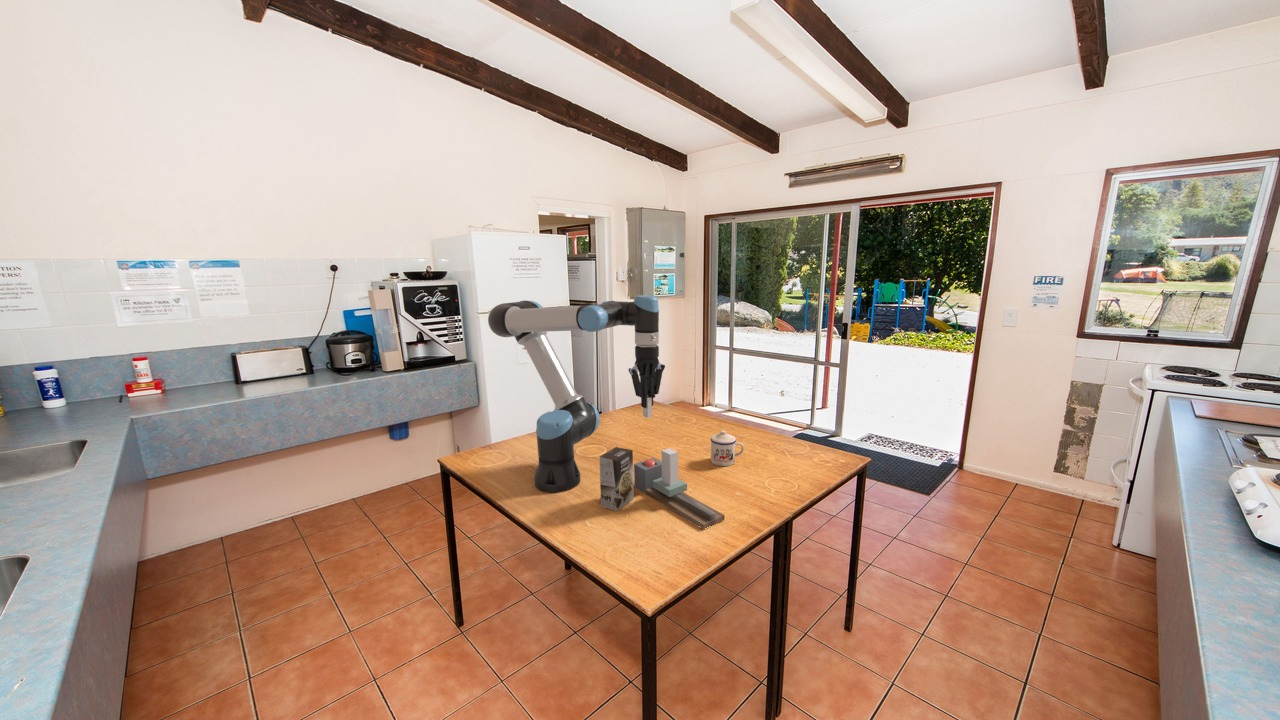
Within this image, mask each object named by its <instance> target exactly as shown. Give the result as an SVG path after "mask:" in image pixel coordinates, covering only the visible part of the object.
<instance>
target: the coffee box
mask: <svg viewBox="0 0 1280 720" xmlns="http://www.w3.org/2000/svg"><path fill="white" fill-rule="evenodd" d="M633 454H634V452H633V449H628V448H623V447H618V446H616V447H614V448H612V449H611V450H608V451H606V452H605V453H603V454H602V455H599V480H600V481H599V484H600V489H599V490H600V506H601V507H602V508H606V509H609V510H611V511H615V512H618V511H620V510H621V509H622V508H624V507H625V506H626V505H628V504H629V503H630V502H632V501H633V500H634V460H633V459H634V458H633V457H634V455H633Z"/></svg>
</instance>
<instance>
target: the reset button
mask: <svg viewBox="0 0 1280 720" xmlns="http://www.w3.org/2000/svg"><path fill="white" fill-rule="evenodd" d="M643 461H644V465H645V466H647V467H648V468H649V467H652V466H654V465H655V461H654V460H648V459H645V460H643Z"/></svg>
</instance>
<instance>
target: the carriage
mask: <svg viewBox="0 0 1280 720" xmlns="http://www.w3.org/2000/svg"><path fill="white" fill-rule="evenodd" d="M661 462H662V478H659V479H656V480H653V488H655V489H657V490H658V491H660V492H662V493H663V494H665V495H667V496H668V497H671V496H674V495H676V494H679V493H681V492H684V493H685V492H687V491H688V483H687V482H685V481H683V480H682V479H679V466H678V465H679V453H678V451H676V450H674V449H672V448H670V447H669V448H665V449H662V450H661Z"/></svg>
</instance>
